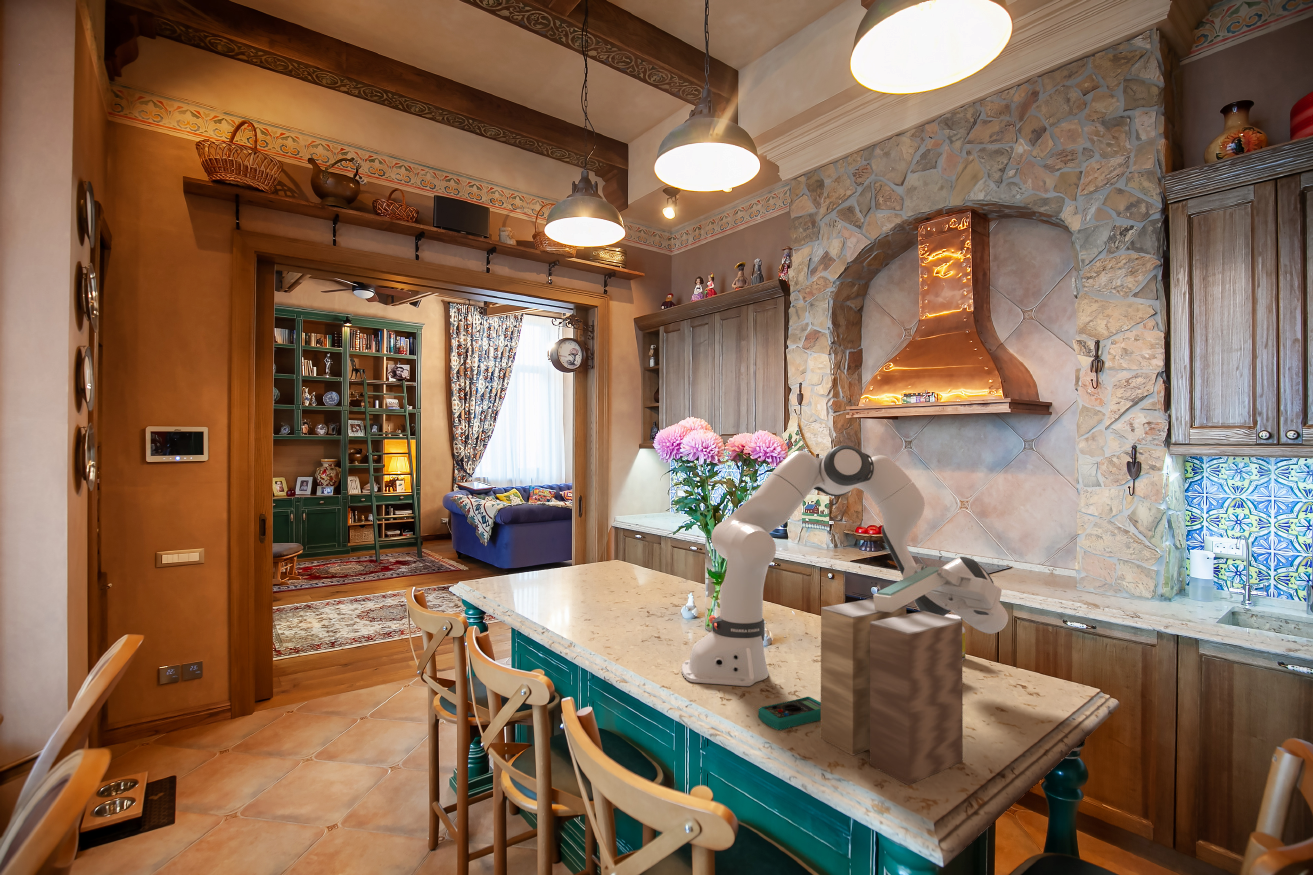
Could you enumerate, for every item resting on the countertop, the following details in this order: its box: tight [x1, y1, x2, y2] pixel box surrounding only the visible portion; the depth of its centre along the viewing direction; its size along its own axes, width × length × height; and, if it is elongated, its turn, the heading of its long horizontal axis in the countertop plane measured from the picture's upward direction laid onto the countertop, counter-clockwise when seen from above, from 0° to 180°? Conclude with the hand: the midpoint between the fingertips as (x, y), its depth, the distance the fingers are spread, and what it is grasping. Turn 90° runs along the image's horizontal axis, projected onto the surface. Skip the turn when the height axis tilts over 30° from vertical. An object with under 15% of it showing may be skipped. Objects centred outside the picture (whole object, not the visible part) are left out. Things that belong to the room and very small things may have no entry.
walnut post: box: [869, 611, 964, 786], centre depth 112 cm, size 16×8×26 cm, turn 121°
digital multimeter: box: [757, 696, 821, 731], centre depth 131 cm, size 7×15×3 cm, turn 116°
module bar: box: [872, 566, 947, 613], centre depth 128 cm, size 26×4×3 cm, turn 132°
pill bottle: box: [945, 613, 966, 661], centre depth 171 cm, size 6×6×12 cm
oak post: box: [820, 598, 907, 756], centre depth 122 cm, size 16×8×26 cm, turn 122°
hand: (929, 568), depth 134 cm, fingers closed on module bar, 4 cm apart
